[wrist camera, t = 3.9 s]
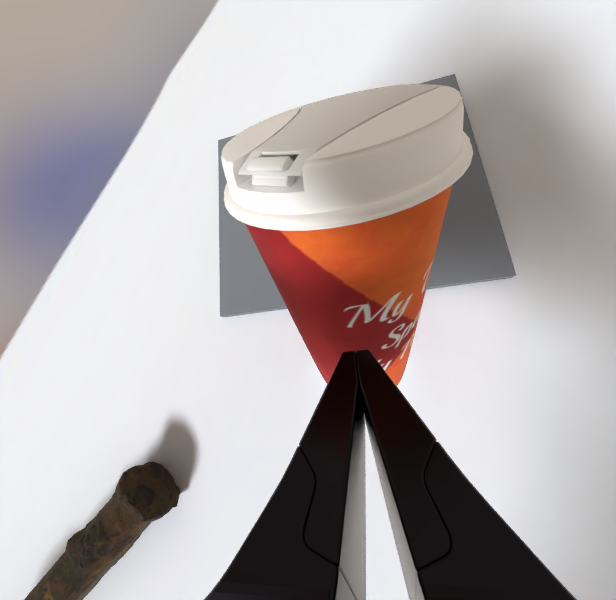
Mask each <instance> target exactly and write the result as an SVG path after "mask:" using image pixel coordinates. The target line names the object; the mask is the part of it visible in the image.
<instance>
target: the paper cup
mask: <svg viewBox="0 0 616 600" xmlns="http://www.w3.org/2000/svg"><path fill="white" fill-rule="evenodd" d="M463 117H464V105H463V100H462V97H461V95H460V92H459V91H457V90H456V89H455V88H452V87H449V86H442V85H429V84H412V85H398V86H389V87H383V88H376V89H370V90H365V91H359V92H354V93H349V94H345V95H341V96H336V97H332V98H329V99H325V100H321V101H318V102H314V103H311V104H307V105H304V106H301V109H300V107H298V108H295V109H292V110H289V111H286V112H284V113H281V114H278V115H276V116H273V117H271V118H269V119H266V120H264V121H262V122H259V123H257V124H255V125H253V126H251V127H249V128H248V129H246V130H244V131H242V132H241V133H239V134H238V135H236V136H235V137H233V138H232V139H231V140H230V141H229V142H227V144H226V145H225V146H224V147H223V150H222V156H221V160H222V166H223V169H224V173H225V177H226V180H227V184H226V186H225V190H224V203H225V207H226V209H227V210H228V212H229V213H230V214H231V215H232V216H233V217H234V218H236V219H237V220H239V221H241V222H243V223H245V225H246V227H247V229H248V231H249V233H250V235H251V237H252V239H253V241H254V243H255V245H256V247H257V249H258V251H259V253H260V255H261V257H262V259H263V261H264V263H265V264H266V266H267V268H268V270H269V272H270V274H271V276H272V278H273V280H274V282H275V284H276V286H277V288H278V290H279V292H280V294H281V296H282V298H283V300H284V302H285V304H286V306H287V308H288V310H289V312H290V314H291V316H292V318H293V320H294V322H295V324H296V326H297V328H298V330H299V332H300V334H301V336H302V338H303V340H304V342H305V344H306V346H307V348H308V350H309V352H310V354H311V356H312V358H313V360H314V362H315V363H316V365H317V367H318V369H319V371H320V373H321V375H322V376H323V378H324V380H325V381H326V383H327V384H328V382H329V380H330V378H331V376H332V374H333V371H334V369H335V367H336V365H337V363H338V361H339V359H340V357H341V355H342V353H343V352H346V351H355V352H356V351H357V350H366V349H368V350H370V352H371V353H372V354H373V356H374V357H375V358H376V360H377V361H378V362H379V364H380V365H381V366H382V368H383V369H384V370H385V371H386V373H387V374H388V375H389V377H390V378H391V379H392V381H393V382H394V383H395V385H396V386H397V385H398V383H399V382H400V380H401V378H402V376H403V373H404V370H405V367H406V364H407V360H408V357H409V353H410V349H411V345H412V342H413V338H414V334H415V330H416V326H417V322H418V318H419V315H420V311H421V307H422V303H423V299H424V295H425V291H426V287H427V283H428V279H429V275H430V271H431V267H432V263H433V259H434V255H435V251H436V247H437V243H438V239H439V235H440V231H441V227H442V224H443V220H444V216H445V212H446V208H447V204H448V200H449V196H450V192H451V188H452V184H453V183H454V182H456V181H457V180H458V179H459V178H460V177H461V176H462V175H463V174H464V173H465V171H466V170H467V169H468V167H469V166H470V163H471V160H472V156H473V149H472V145H471V143H470V138H469V137H468V136H467V135H466V133H465V132H464V131H463Z"/></svg>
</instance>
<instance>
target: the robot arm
mask: <svg viewBox="0 0 616 600" xmlns="http://www.w3.org/2000/svg"><path fill="white" fill-rule="evenodd" d="M364 414H365V417H364ZM365 420H366V425H367V429H368V433H369V438H370V442H371V446H372V450H373V454H374V458H375V462H376V466H377V470H378V474H379V478H380V482H381V486H382V490H383V494H384V498H385V502H386V506H387V510H388V514H389V518H390V522H391V526H392V530H393V535H394V539H395V543H396V547H397V551H398V555H399V559H400V563H401V567H402V571H403V575H404V579H405V583H406V587H407V591H408V595H409V599H410V600H577V599H576V598H575V597H574V596H573V595H572V594H571V593H570V592H569V591H568V590H567V589H566V588H565V587H564V586H563V585H562V584H561V583H560V581H559V580H558V579H557V578H556V577H555V576H554V575H553V574H552V573H551V572H550V571H549V569H548V568H547V567H546V566H545V565H544V564H543V563H542V562H541V561H540V560H539V558H538V557H537V556H536V555H535V554H534V553H533V552H532V551H531V550H530V548H529V547H528V546H527V545H526V544H525V543H524V542H523V541H522V540H521V539H520V537H519V536H518V535H517V534H516V533H515V532H514V531H513V530H512V529H511V528H510V526H509V525H508V524H507V523H506V522H505V521H504V520H503V519H502V518H501V517H500V515H499V514H498V513H497V512H496V511H495V510H494V509H493V508H492V507H491V506H490V504H489V503H488V502H487V501H486V500H485V499H484V498H483V496H482V495H481V494H480V493H479V492H478V491H477V489H476V488H475V487H474V486H473V485H472V484H471V483H470V481H469V480H468V479H467V478H466V477H465V475H464V474H463V473H462V472H461V470H460V469H459V468H458V467H457V465H456V464H455V463H454V461H453V460H452V459H451V458H450V456H449V455H448V454H447V452H446V451H445V450H444V448H443V447H442V446H441V444H440V443H439V442H436V438H435V437H434V435H433V434H432V433H431V431H430V430H429V429H428V427H427V426H426V425H425V423H424V422H423V421H422V419H421V418H420V417H419V415H418V414H417V413H416V411H415V410H414V409H413V407H412V406H411V405H410V403H409V402H408V401H407V399H406V398H405V397H404V395H403V394H402V393H401V391H400V390H399V389H398V387H397V386H396V385H395V383H394V382H393V381H392V379H391V378H390V377H389V375H388V374H387V373H386V371H385V370H384V369H383V368H382V366H381V365H380V364H379V362H378V361H377V360H376V358H375V357H374V356H373V354H372V353H371V352H370V350H368V349H366V350H357V351H356V352H355V351H346V352H343V353H342V355H341V357H340V359H339V361H338V363H337V365H336V367H335V369H334V371H333V374H332V376H331V378H330V380H329V382H328V384H327V386H326V388H325V390H324V393H323V395H322V397H321V399H320V401H319V403H318V405H317V407H316V409H315V411H314V414H313V416H312V418H311V420H310V422H309V424H308V426H307V428H306V430H305V433H304V435H303V437H302V439H301V441H300V443H299V446H298V447H297V449H296V451H295V453H294V455H293V458H292V460H291V462H290V464H289V466H288V468H287V470H286V471H285V473H284V475H283V477H282V479H281V481H280V483H279V485H278V486H277V488H276V490H275V492H274V493H273V495H272V497H271V498H270V500H269V502H268V504H267V505H266V507H265V509H264V510H263V512H262V513H261V515H260V517H259V518H258V520H257V522H256V523H255V525H254V527H253V528H252V530H251V532H250V533H249V535H248V536H247V538H246V540H245V541H244V543H243V545H242V546H241V548H240V550H239V551H238V553H237V554H236V556H235V558H234V559H233V561H232V563H231V564H230V566H229V567H228V569H227V571H226V572H225V573H224V575H223V576H222V578H221V579H220V581H219V582H218V583H217V585H216V586H215V587H214V588H213V590H212V591H211V592H210V593H209V595H208V596H207V597H206V598H205V599H204V600H366V517H365Z"/></svg>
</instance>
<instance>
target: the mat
mask: <svg viewBox="0 0 616 600" xmlns="http://www.w3.org/2000/svg"><path fill="white" fill-rule="evenodd" d="M421 84H429V85H442V86H449V87H452V88H455V89H456V90H457V91H459V92H460V90H459V86H458V83H457V80H456V76H455V74H453V75H450V76H446V77H442V78H439V79H435V80H432V81H428V82H425V83H421ZM460 95H461V93H460ZM461 97H462V96H461ZM462 100H463V99H462ZM463 105H464V103H463ZM463 131H464V132H465V133H466V135H467V136H468V137H469V138H470V143H471V145H472V149H473V156H472V160H471V163H470V166H469V167H468V169H467V170H466V171H465V173H464V174H463V175H462V176H461V177H460V178H459V179H458V180H457V181H456V182H454V183H453V184H452V188H451V192H450V196H449V200H448V204H447V208H446V212H445V216H444V220H443V224H442V227H441V231H440V235H439V239H438V243H437V247H436V251H435V255H434V259H433V263H432V267H431V271H430V275H429V279H428V283H427V287H426V289H433V288H440V287H447V286H455V285H462V284H469V283H476V282H484V281H491V280H498V279H505V278H511V277H513V276H515V275H516V273H515V270H514V267H513V264H512V260H511V257H510V254H509V250H508V247H507V244H506V241H505V237H504V234H503V231H502V227H501V224H500V221H499V218H498V214H497V211H496V208H495V204H494V201H493V198H492V195H491V191H490V188H489V185H488V181H487V178H486V175H485V172H484V168H483V165H482V162H481V159H480V155H479V152H478V149H477V145H476V142H475V139H474V136H473V132H472V129H471V126H470V122H469V119H468V116H467V113H466V109H465V106H464V117H463ZM235 136H236V135H235ZM235 136H232V137H228V138H225V139H221V140H218V152H219V246H220V316H221V317H230V316H237V315H244V314H251V313H259V312H266V311H273V310H280V309H288V308H287V306H286V304H285V302H284V300H283V298H282V296H281V294H280V292H279V290H278V288H277V286H276V284H275V282H274V280H273V278H272V276H271V274H270V272H269V270H268V268H267V266H266V264H265V263H264V261H263V259H262V257H261V255H260V253H259V251H258V249H257V247H256V245H255V243H254V241H253V239H252V237H251V235H250V233H249V231H248V229H247V227H246V225H245V223H243V222H241V221H239V220H237V219H236V218H234V217H233V216H232V215H231V214H230V213H229V212H228V210H227V209H226V207H225V203H224V190H225V186H226V184H227V180H226V177H225V173H224V169H223V166H222V160H221V156H222V150H223V147H224V146H225V145H226V144H227V142H229V141H230V140H231V139H232V138H233V137H235Z"/></svg>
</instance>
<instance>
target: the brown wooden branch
mask: <svg viewBox="0 0 616 600" xmlns="http://www.w3.org/2000/svg"><path fill="white" fill-rule="evenodd" d="M179 495H180V490H179V488H178V487H177V485H176V484H175V482H174V480H173V478H172V476H171V475H170V474H169V472H168V471H167V470H166V469H165V468H164V467H163V466H162V465H161V464H158V463H155V462H149V463H146V464H144V465H138V466H134V467H132V468H130V469H128V470H127V471H125V472H124V473H123V474H122V476H121V478H120V479H119V482H118V484H117V486H116V490H115V493H114V494H113V496H112V498H111V499H110V501H109V502H108V503H107V504H106V505H105V506H104V507H103V509H102V510H100V512H99V513H98V514H97V516H96V517H95V518H94V519H93V520H91V521H90V522H89V523H88V524H87V525H86V527H85V528H84V529H82V530H81V531H79V532H77V533H75V534H74V535H73V536H72V537H71V538H70V539H69V540H68V543H67V547H66V551H65V553H64V554H63V555H62V556H61V557H60V558H59V560H58V561H57V562H56V563H55V564H54V566H53V567H52V568H51V569H50V570H49V571H48V572H47V574H46V575H45V576H44V577H43V578H42V579H41V581H40V582H39V583H38V584H37V586H36V587H35V588H34V589H33V590H32V591H31V592H30V593H29V595H28V596H27V597H26V598H25V600H83V599H84V597H85V596H86V595H87V594H88V593H89V592H90V591H91V590H92V589H93V588H94V587H95V586H96V585H97V583H98V582H99V581H100V579H101V578H102V577H103V576H104V575H105V574H106V573H107V571H108V570H109V569H110V568H111V567H112V566H113V565H115V564H116V563H117V561H118V560H119V559H120V558H122V557H123V556H124V554H125V553H126V552H127V551H128V550H129V549H130V548H131V547H132V546H133V544H134V542H135V541H136V540H137V539H138V538H139V537H140V535H141V534H142V532H143V531H144V530H145V529H146V528H147V527H148V525H149V524H150V523H151V522H152V521H155V520H157V519H159V518H161V517H163V516H164V515H165V514H167V513H168V512H169V511H170V510H171V509H172V508H173V507H176V506H177V503H178V499H179Z"/></svg>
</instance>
